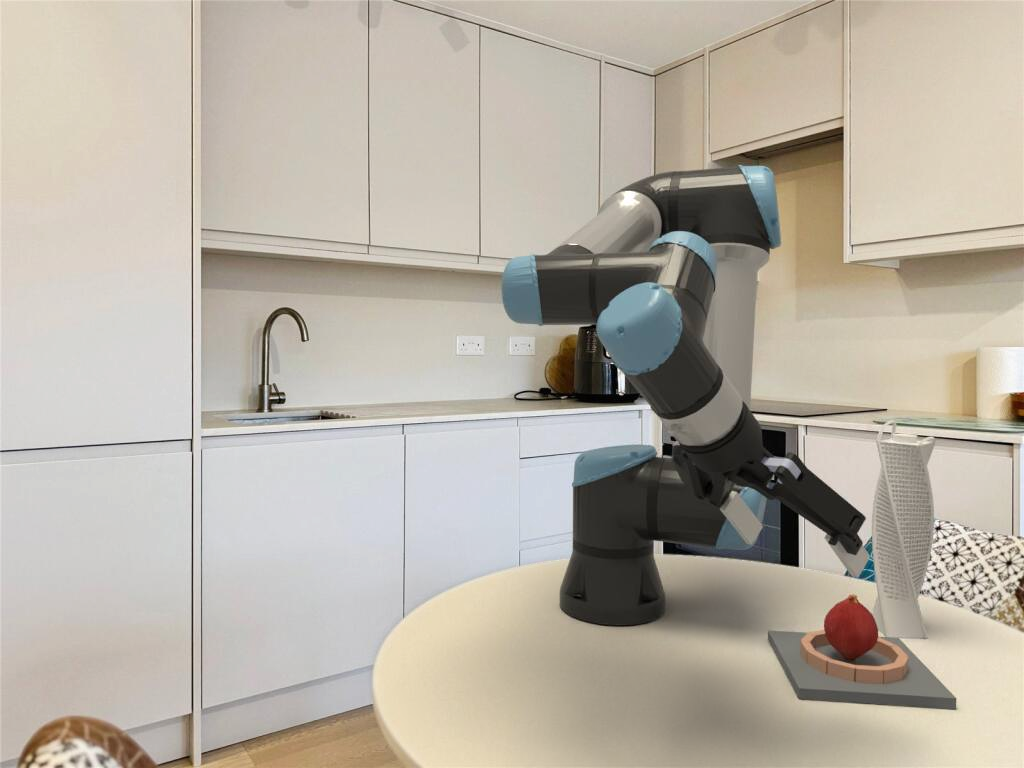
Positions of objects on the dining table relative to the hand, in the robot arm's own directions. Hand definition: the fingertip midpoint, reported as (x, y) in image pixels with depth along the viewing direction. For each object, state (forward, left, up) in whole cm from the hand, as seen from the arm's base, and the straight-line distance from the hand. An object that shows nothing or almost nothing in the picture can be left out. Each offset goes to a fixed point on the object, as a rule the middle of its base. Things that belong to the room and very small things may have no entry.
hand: (804, 549), depth 82 cm
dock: (+7, +6, -16) cm, 19 cm away
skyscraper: (+17, +20, -16) cm, 31 cm away
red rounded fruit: (+7, +6, -15) cm, 18 cm away
